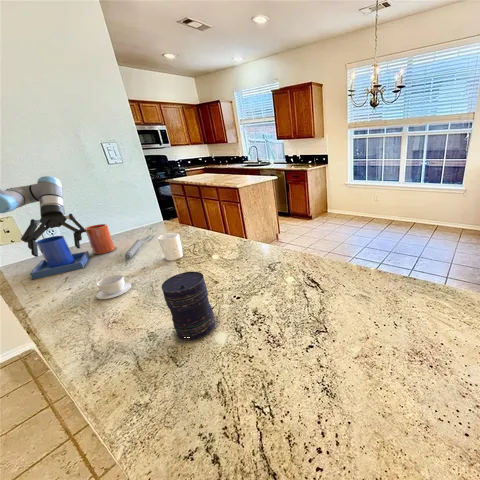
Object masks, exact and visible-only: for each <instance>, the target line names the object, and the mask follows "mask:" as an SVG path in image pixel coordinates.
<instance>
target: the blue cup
mask: <svg viewBox="0 0 480 480" xmlns="http://www.w3.org/2000/svg"><path fill="white" fill-rule="evenodd" d="M36 242H37V248H38V249H39V251H40V253H41V255H42V257H43V260H45V261H46V263H47V264H48V266H49V268H55V267H60V266H64V265H69V264H74V263H75V260H74V258H73V256H72V254H73V253H72V252H71V249H70V247H69V245H68V243H67V241H66V238H65V237H64V235H54V236H49V237H45V238H42V239H39V240H38V241H37V240H36Z"/></svg>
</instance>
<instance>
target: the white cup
mask: <svg viewBox="0 0 480 480" xmlns="http://www.w3.org/2000/svg"><path fill="white" fill-rule="evenodd" d="M157 240H158V243H159V246H160V248H161V251H162V253H163V255H164V258H165V260H166V261H176V260H179V259H182V257H183V256H184V252H183V247H182V241H181V237H180V233H178V232H168V233H163V234H160V235H159V236H158V237H157Z"/></svg>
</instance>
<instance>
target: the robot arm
mask: <svg viewBox="0 0 480 480" xmlns="http://www.w3.org/2000/svg"><path fill="white" fill-rule="evenodd" d="M9 188H10V189H9ZM9 188H5V189H6V190H5V189H2V188H0V214H6V213H10V212H13V211H15V210H16V209H19V208H22V207H24V206H27V205H29V204H34V203H39V212H40V219H35V218H31V219H30V222H29V225H28V226H27V228H26V229H25V231H24V233H23V235H22V236H21V238H20V241H22V242H23V243H24V244H25V243H27V248H28V249H29V250H31V253H30V254H31V255H32V256H33V257H35V258H37V257H39V250H38V249H39V248H38V245H37V240H38V239H39V238H40V237H41V236H42V235H43V234H44V233H45V232H46V231H48V230H49V229H55V228H60V227H62V226H63V227H65V228H67V229H69V230H70V231H71V232H73V234H72V235H73V241H74V247H76V249H81V243H80V241H82V240H83V236H82V234H83V233H86V230H85V227H84V226H83V225H82V224H81V223H79V221H77V220H76V216H75V215H74V214H73V213H69V214H68V215H66V211H65V205H64V204H65V202H64V196H63V195H64V194H63V187H62V182H61V180H60V179H58V178H57V177H54V176H49V175H45V176H44V175H43V176H40V177H39V178H37V181H36V183H33V184H28V185H22V186H16V187H9ZM67 220H69V221H72V223H73V224H74V225H76V226H77V227H78V228H79V229H77V228H76V227H74V226H73V225H71V224H69V223H67V222H66V221H67Z"/></svg>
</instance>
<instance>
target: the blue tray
mask: <svg viewBox="0 0 480 480" xmlns="http://www.w3.org/2000/svg"><path fill="white" fill-rule="evenodd" d="M72 256H73V258H74V260H75V263H74V264H69V265H64V266H60V267H55V268H49V266H48V264H47V263H46V261H45V259H41V260H40V261H39V262H38V264H37V265H36V266H35V267H34V268H33V269H32V270H31V271H30V272H29V276H30V277H31V279H32V280H35V279H41V278H45V277H49V276H54V275H58V274H62V273H63V274H64V273H67V272H72V271H77V270H80V269H84V268H85V266H86V264H87V262H88V260H89V258H90V253H89V252H88V250H85V251H81V252H76V253H72Z"/></svg>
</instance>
